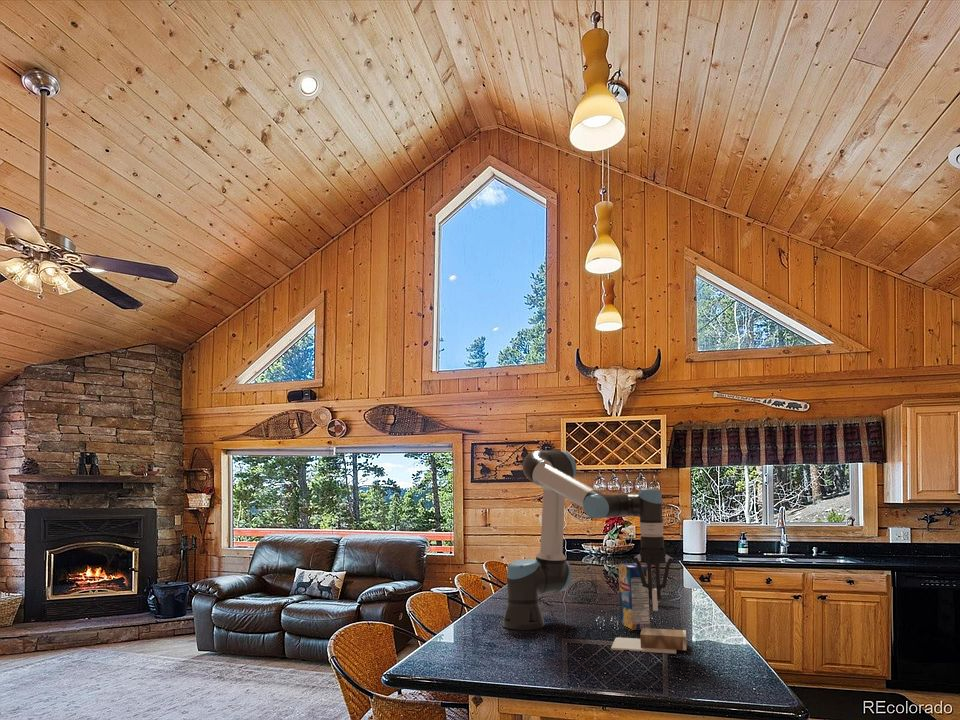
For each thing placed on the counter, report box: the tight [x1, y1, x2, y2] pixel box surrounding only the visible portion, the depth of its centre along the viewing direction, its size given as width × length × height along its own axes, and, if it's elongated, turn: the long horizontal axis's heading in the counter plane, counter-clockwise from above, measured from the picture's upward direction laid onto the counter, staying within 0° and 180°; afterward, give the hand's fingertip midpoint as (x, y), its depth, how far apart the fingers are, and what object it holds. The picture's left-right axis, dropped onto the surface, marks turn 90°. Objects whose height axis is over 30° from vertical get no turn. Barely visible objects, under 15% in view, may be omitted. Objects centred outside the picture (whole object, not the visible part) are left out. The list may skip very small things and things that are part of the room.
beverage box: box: [618, 562, 651, 631], centre depth 257 cm, size 7×11×22 cm, turn 11°
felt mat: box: [610, 637, 677, 655], centre depth 227 cm, size 20×15×1 cm
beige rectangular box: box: [639, 627, 688, 651], centre depth 226 cm, size 4×10×14 cm
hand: (655, 609), depth 228 cm, fingers closed
